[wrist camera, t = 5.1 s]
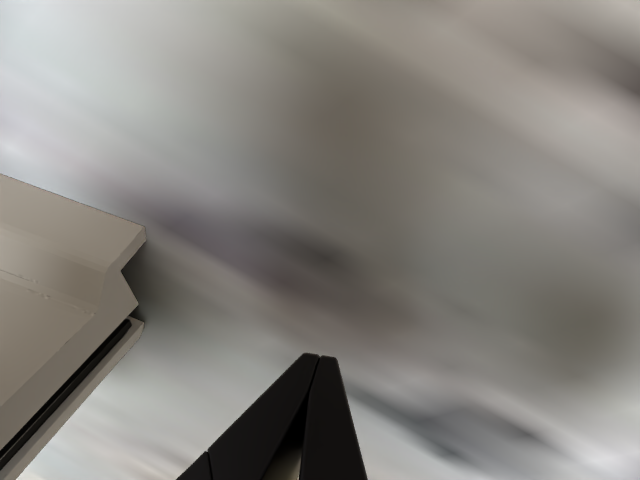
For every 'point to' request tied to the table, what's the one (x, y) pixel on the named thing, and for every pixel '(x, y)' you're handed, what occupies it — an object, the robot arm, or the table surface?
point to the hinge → (57, 312)
